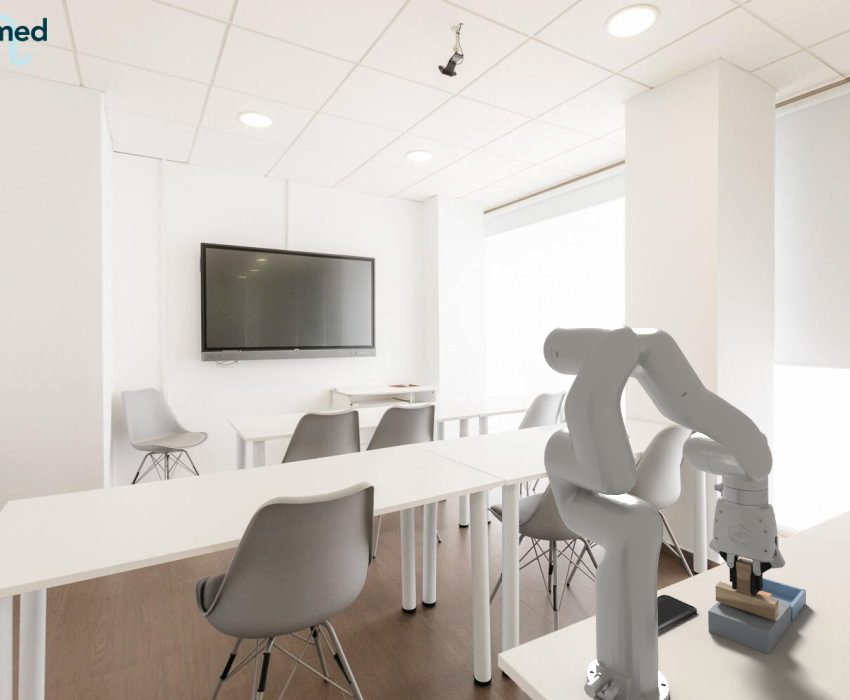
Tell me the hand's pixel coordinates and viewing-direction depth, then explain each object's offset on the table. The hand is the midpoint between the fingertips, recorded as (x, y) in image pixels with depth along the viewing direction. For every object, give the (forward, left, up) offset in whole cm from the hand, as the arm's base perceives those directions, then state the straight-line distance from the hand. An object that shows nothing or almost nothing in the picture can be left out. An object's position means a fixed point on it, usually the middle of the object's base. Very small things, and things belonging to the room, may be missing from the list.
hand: (746, 589), depth 99 cm
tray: (+15, 0, -8) cm, 17 cm away
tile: (+4, 0, -4) cm, 6 cm away
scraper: (0, 0, -4) cm, 4 cm away
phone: (-6, +14, -9) cm, 18 cm away
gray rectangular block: (+2, 0, -8) cm, 9 cm away
